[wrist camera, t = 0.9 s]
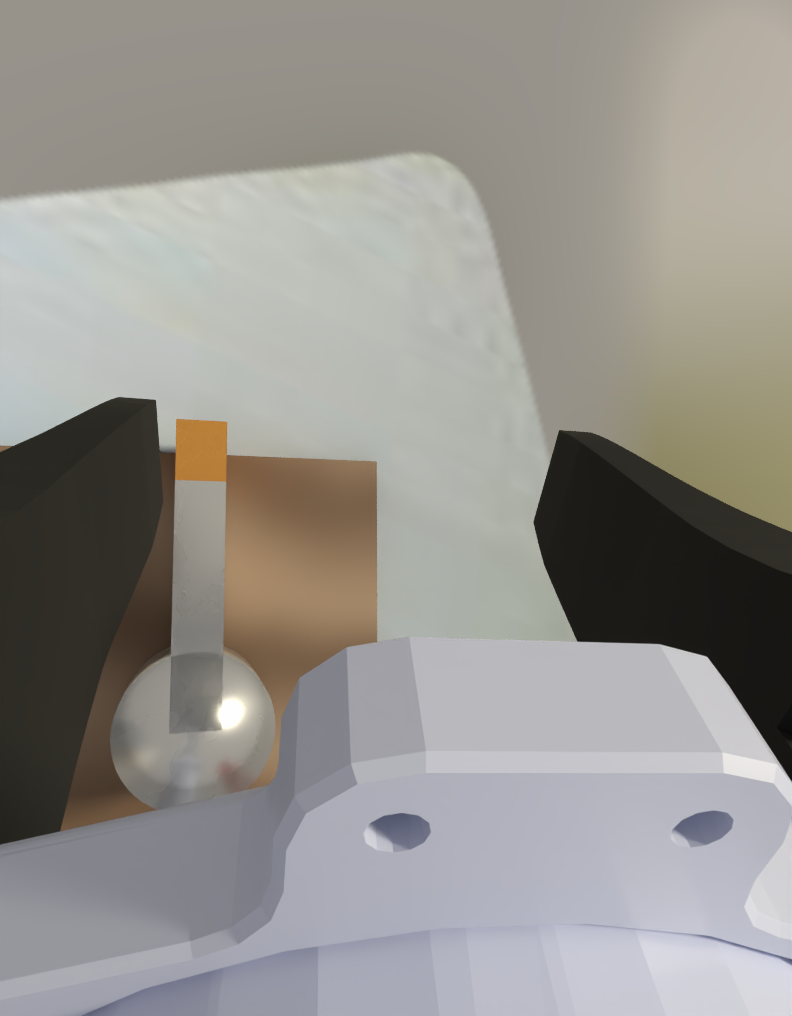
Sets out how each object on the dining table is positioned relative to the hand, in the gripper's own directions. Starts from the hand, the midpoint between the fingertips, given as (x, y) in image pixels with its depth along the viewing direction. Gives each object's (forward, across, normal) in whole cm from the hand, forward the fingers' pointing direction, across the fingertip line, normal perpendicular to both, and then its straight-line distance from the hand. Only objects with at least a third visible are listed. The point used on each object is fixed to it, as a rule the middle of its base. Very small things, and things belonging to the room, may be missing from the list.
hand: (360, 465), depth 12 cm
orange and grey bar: (+9, +5, +11) cm, 15 cm away
